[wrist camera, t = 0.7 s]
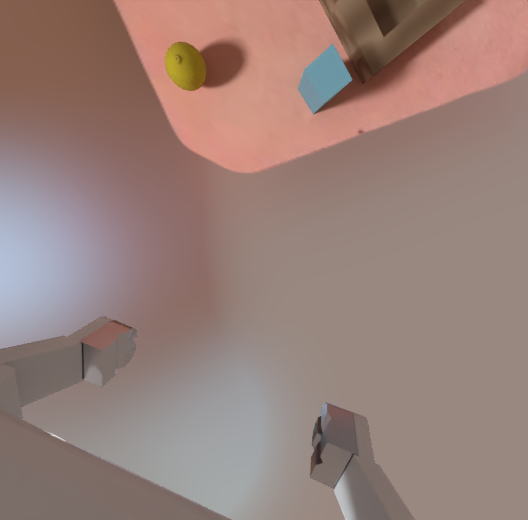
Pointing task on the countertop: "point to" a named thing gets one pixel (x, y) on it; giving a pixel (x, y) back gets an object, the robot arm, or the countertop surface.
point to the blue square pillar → (323, 79)
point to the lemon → (185, 66)
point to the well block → (382, 28)
